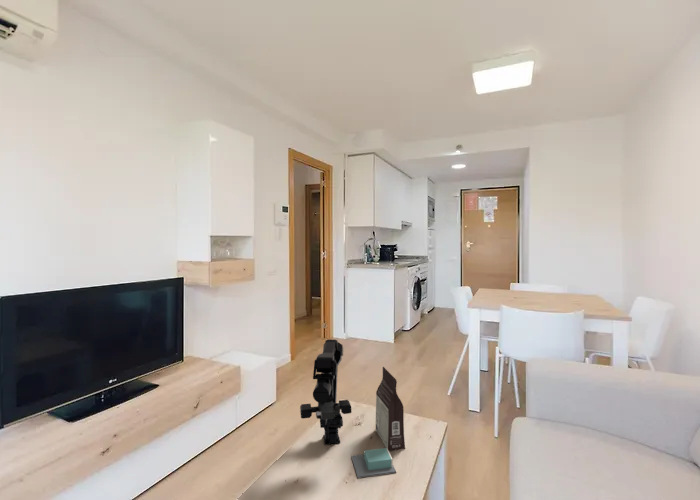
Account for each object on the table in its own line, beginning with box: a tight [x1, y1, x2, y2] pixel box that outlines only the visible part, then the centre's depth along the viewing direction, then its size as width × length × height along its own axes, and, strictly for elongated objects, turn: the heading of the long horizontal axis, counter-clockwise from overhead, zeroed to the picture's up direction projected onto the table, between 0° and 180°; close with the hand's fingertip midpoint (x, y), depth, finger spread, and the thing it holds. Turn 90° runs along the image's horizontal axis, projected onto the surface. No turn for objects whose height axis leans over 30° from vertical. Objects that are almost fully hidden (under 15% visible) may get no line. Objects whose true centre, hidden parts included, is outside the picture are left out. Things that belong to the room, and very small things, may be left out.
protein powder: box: [374, 366, 406, 452], centre depth 147 cm, size 16×9×28 cm, turn 14°
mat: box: [351, 453, 397, 479], centre depth 130 cm, size 12×14×1 cm
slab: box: [363, 447, 394, 470], centre depth 131 cm, size 7×3×9 cm
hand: (325, 431), depth 132 cm, fingers closed
